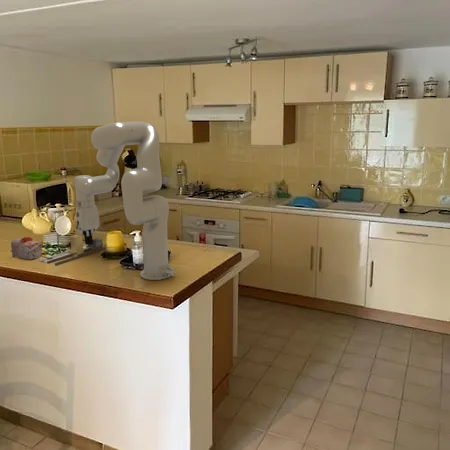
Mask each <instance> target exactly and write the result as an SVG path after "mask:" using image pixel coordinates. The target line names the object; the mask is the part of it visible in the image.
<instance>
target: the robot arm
mask: <svg viewBox="0 0 450 450" xmlns="http://www.w3.org/2000/svg"><path fill="white" fill-rule="evenodd" d="M159 135H160V134H159V132H158V130H157V128H156V127H155V126H154V125H153V124H151V123H150V122H146V121H138V120H137V121H117V122H112V123H111V122H110V123H109V124H105V125H102V126H98V127H96V128H95V129H93V131H92V132H91V136H90V142H91V145H92V146H93V147H94V148H95V149H97V150H98V151H97V152H96V153H97V154H96V156H95V157H96V160H97V162H98V164H100V165H101V166H102V167H105V168H107V170H106V172H105V174H103V175H97V176H92V175H88V174H83V175H77V176H75V178H74V185H75V186H74V187H75V198H76V200H75V201H76V203H75V204H74V205H75V206H76V208H75V218H74V220H75V229H76V230H77V232H76V233H77V234H78V235H81V234H82V237H84V245H86V244H87V245H91V244H93V240H92V239H93V236H94V232H95V231H96V230H98V229H99V227H101V224H100V223H101V222H100V214H99V211H98V207H97V205H96V203H95V195H100V194H106V193H110V192H112V191H113V190H114V189H115V187H116V186H117V183H118V181H119V179H120V168H119V165H118V161H119V159H120V158H121V155H122V153H123V151H124V149H125V146H133V145H138V146H139V147H138V149H137V152H136V157H135V158H136V165H137V166H136V167H137V168H132V169H128V170H126V171H124V173H123V175H122V178H121V194H122V195H121V196H122V200H123V201H122V202H123V210H124V215H125V218H126V220H127V222H128V223H129V224H131V225H134V226H140V225H142V226H143V227H142V231H141V232H142V233H141V234H142V236H141V237H142V244H143V250H142V257H143V270H140V272H139V276H140V278H141V279H144V280H148V281H159V280H166V279H169V278H170V277H173V276H174V274H175V273H176V269H175V268H171V264H170V263H169V250H168V249H169V248H168V247H169V246H168V220H169V213H170V212H169V211H170V205H169V202H168V200H167V199H166V197H164V196H162V195H157V194H155V195H148V196H144V197H143V195H144V194H145V195H146V194H149V193H150V194H151V193H154V192H157V191H159V190H160V189H161V188H162V185H163V179H162V178H163V176H162V167H161V160H160V159H161V158H160V136H159Z"/></svg>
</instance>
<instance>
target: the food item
mask: <svg viewBox="0 0 450 450" xmlns="http://www.w3.org/2000/svg"><path fill="white" fill-rule="evenodd" d="M10 246H11V253H12V254H11V255H12V258H16V257H17V258H20V259H24V260H29V261H30V260H34V259H35V260H36V259H40V258H41V257H43V245H42V241H37V240H33V238H32V237H31V236H28V237H27V236H24V237H22V238H21V237H20V238H16V239H13V240H11V241H10Z"/></svg>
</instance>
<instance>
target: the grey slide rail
mask: <svg viewBox="0 0 450 450" xmlns="http://www.w3.org/2000/svg"><path fill="white" fill-rule="evenodd" d="M92 240H93V244H91V245H87V244H85V245H83V250H84V254H82V255H79V256H76V257H72V253H71V252H68V251H64V252H60V253H57V254H54V255H50V256H48V257H45V258H42V259H39V262H41V263H45V264H48V265H49V264H51V263H54V266H56V267H57V266H60V265H63V264H66V263H69V262H72V261H75V260H77V259H81V258H84V257H87V256H90V255H94V254H96V253H99V252H102V251H105V249H106V250H107V248H106V247H105V246H104V245H103V238H99V237H95V238H92ZM61 260H62V261H61Z"/></svg>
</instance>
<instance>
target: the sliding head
mask: <svg viewBox="0 0 450 450" xmlns="http://www.w3.org/2000/svg"><path fill="white" fill-rule="evenodd" d="M69 239H70V248H66V249H65V252H67V251H68V252H71V253H72V256H71V258H73V257H76V256H79V255H82V254H85V252H84V250H83V246H84V241H83V235H81V234H73V235H70V236H69Z"/></svg>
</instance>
